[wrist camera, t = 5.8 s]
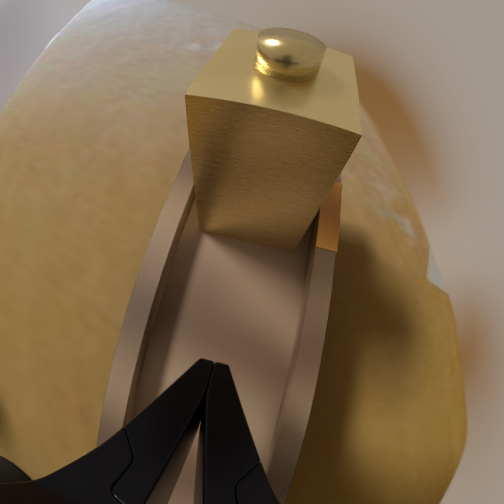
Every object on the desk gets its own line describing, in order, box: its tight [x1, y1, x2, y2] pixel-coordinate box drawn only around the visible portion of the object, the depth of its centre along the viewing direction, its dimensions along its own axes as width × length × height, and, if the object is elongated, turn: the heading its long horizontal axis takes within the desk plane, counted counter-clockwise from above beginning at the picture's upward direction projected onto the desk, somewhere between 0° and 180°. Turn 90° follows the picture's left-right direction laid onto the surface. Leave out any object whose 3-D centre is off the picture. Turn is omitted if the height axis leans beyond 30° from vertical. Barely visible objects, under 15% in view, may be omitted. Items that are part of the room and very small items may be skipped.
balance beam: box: [97, 148, 342, 504], centre depth 13 cm, size 22×9×6 cm, turn 168°
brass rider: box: [185, 28, 362, 253], centre depth 10 cm, size 5×5×9 cm
